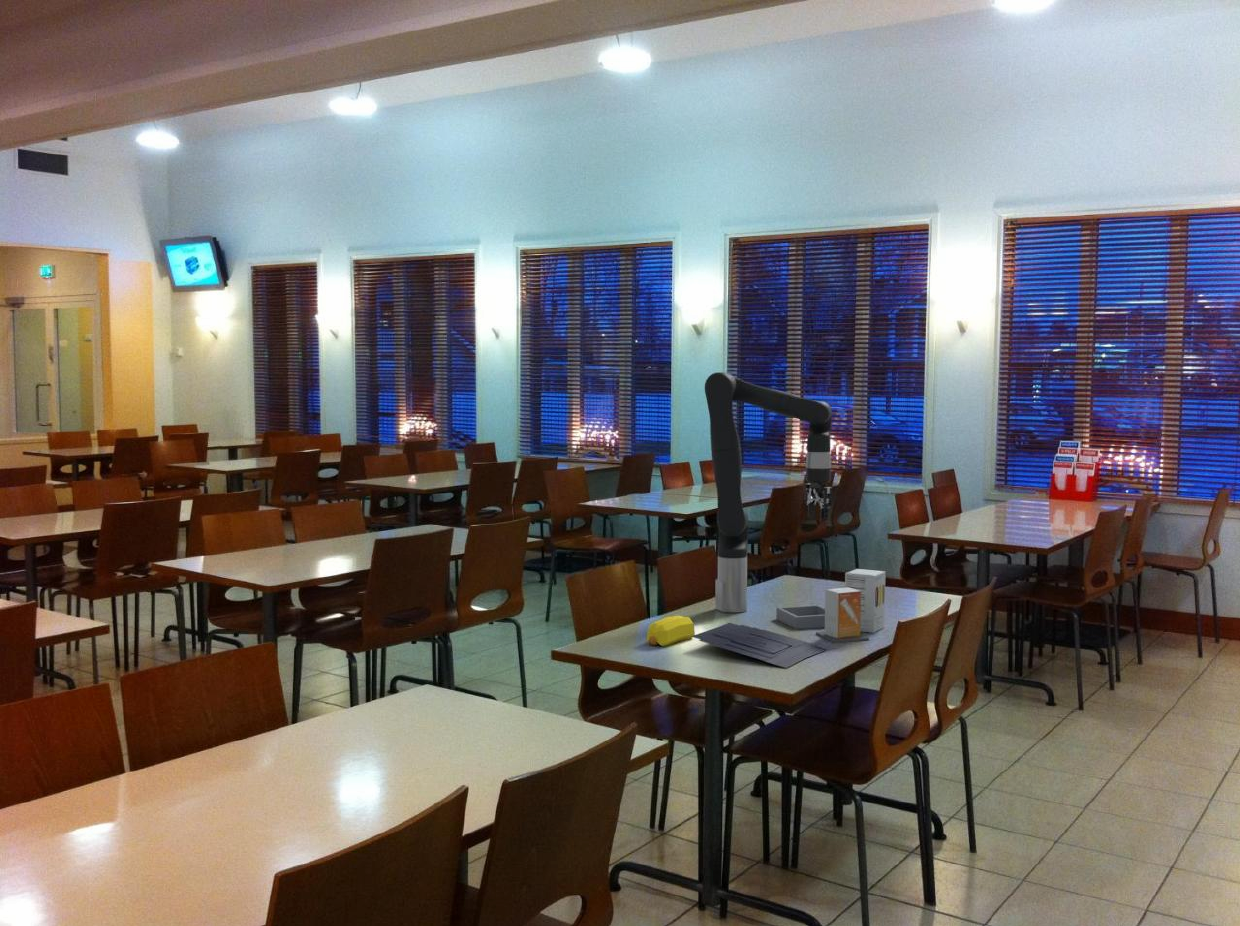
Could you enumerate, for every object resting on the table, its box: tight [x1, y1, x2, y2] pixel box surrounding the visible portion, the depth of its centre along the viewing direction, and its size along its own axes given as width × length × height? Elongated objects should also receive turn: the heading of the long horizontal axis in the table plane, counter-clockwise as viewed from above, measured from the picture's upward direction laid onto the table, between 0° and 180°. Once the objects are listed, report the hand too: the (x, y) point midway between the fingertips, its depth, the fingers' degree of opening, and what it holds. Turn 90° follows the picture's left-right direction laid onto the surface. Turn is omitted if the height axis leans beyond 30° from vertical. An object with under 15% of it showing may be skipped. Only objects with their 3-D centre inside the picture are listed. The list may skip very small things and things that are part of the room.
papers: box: [691, 622, 828, 669], centre depth 295 cm, size 24×30×4 cm
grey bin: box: [775, 604, 825, 630], centre depth 329 cm, size 14×14×4 cm
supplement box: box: [844, 568, 886, 634], centre depth 321 cm, size 10×9×17 cm
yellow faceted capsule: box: [646, 615, 696, 647], centre depth 306 cm, size 18×7×8 cm
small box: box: [824, 587, 861, 638], centre depth 310 cm, size 8×6×13 cm
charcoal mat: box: [815, 630, 870, 644], centre depth 310 cm, size 11×11×1 cm
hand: (817, 518), depth 337 cm, fingers open, 8 cm apart
